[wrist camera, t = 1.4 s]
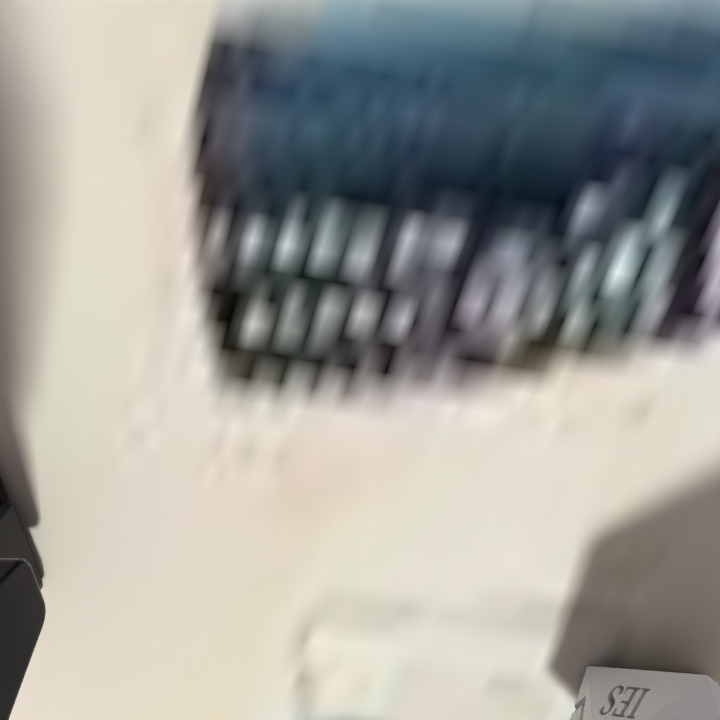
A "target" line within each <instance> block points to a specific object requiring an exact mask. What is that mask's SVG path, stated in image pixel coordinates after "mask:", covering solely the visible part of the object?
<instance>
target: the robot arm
mask: <svg viewBox="0 0 720 720" xmlns="http://www.w3.org/2000/svg"><path fill="white" fill-rule="evenodd" d="M42 586H43V583H42V580H41V577H40V575H39V572H38V570H37V567H36V565H35V562H34V557H33V554H32V552H31V549H30V547H29V544H28V542H27V540H26V537H25V535H24V532H23V530H22V527H21V525H20V522H19V520H18V517H17V515H16V512H15V510H14V507H13V506H12V505H11V503H10V501H9V498H8V496H7V493H6V491H5V488H4V486H3V484H2V481H1V479H0V720H9V717H10V714H11V711H12V709H13V706H14V703H15V700H16V698H17V695H18V692H19V689H20V687H21V684H22V681H23V679H24V676H25V673H26V670H27V668H28V665H29V662H30V659H31V657H32V654H33V651H34V648H35V646H36V643H37V640H38V637H39V635H40V632H41V629H42V627H43V623H44V619H45V603H44V600H43V597H42V594H41V589H42Z"/></svg>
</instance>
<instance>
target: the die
mask: <svg viewBox="0 0 720 720" xmlns="http://www.w3.org/2000/svg"><path fill="white" fill-rule="evenodd" d="M575 708H576V710H575V712H574V713H573V714H572V715H571V718H570V720H720V685H719V684H718V683H716V682H715V681H714V680H713V679H712V678H711V677H710V676H709V675H701V674H688V673H675V672H662V671H649V670H636V669H623V668H610V667H597V666H587V668H586V671H585V675H584V678H583V681H582V684H581V687H580V690H579V693H578V697H577V700H576V703H575Z"/></svg>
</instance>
